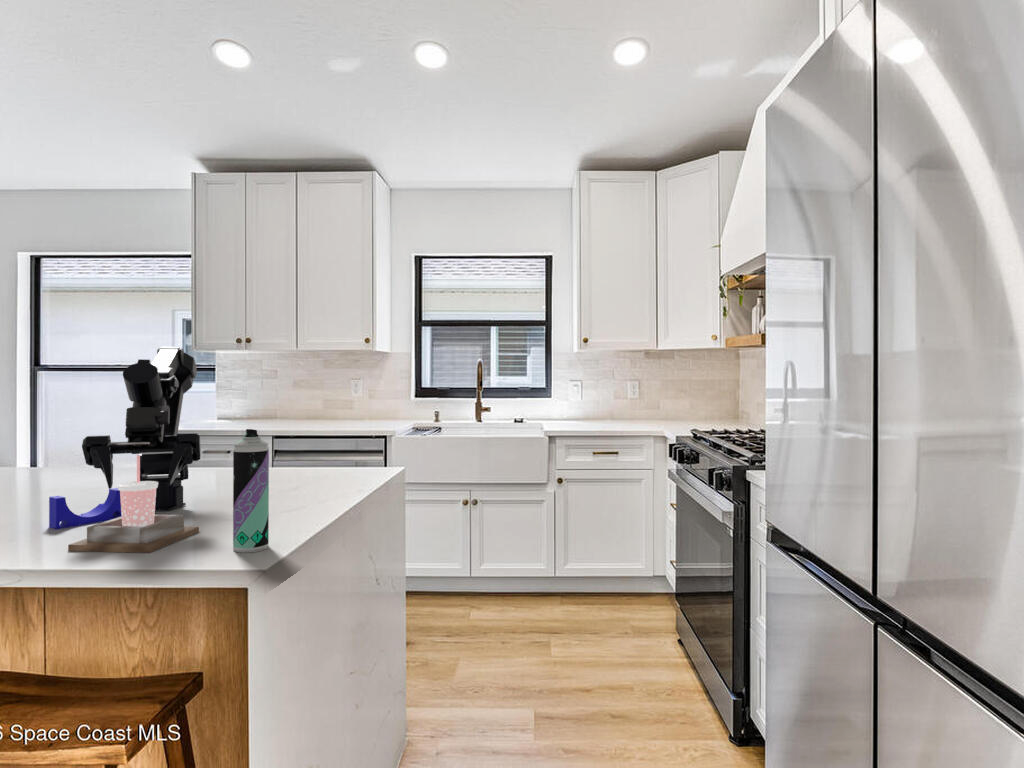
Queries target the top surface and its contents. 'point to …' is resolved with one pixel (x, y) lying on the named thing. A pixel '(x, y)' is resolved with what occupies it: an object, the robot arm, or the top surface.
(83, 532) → the top surface
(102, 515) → the blue curved cradle bracket
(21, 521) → the top surface
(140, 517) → the beverage cup
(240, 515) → the spray can
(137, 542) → the cup holder board
